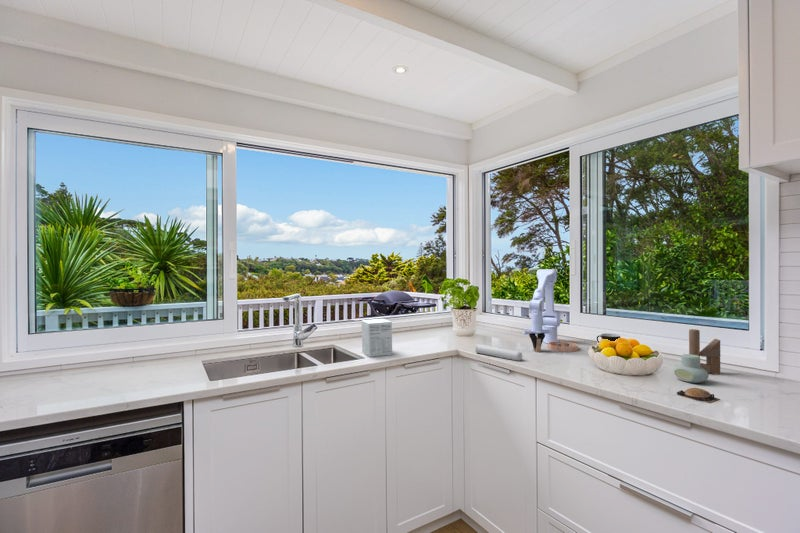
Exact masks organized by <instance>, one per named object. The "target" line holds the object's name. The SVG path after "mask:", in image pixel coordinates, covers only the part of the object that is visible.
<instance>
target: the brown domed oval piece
mask: <svg viewBox="0 0 800 533" xmlns="http://www.w3.org/2000/svg"><path fill="white" fill-rule="evenodd" d="M676 395H677V396H680V397H684V398H687V399H690V400H692V401H693V400H694V401H697V402H702V403H707V404H712V403H715V402H718V401H720V400H721V399H720V398H717V397H715V394H714V393H712V394H711V393H710V392H709V391H707V390H705V389H703V388H698V387H690V388H687V389H686V390H679V391H676Z"/></svg>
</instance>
